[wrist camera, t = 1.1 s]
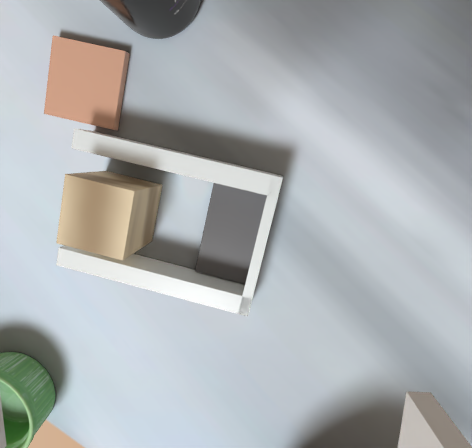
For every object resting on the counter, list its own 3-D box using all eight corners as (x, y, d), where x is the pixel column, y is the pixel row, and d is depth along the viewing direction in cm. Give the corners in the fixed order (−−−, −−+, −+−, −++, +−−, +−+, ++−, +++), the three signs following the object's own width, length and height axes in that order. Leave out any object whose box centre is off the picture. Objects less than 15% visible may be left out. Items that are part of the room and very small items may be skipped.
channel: (282, 175, 29) (282, 177, 26) (251, 301, 31) (247, 316, 28) (94, 131, 30) (74, 128, 27) (76, 255, 32) (56, 265, 29)
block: (162, 184, 30) (134, 191, 24) (152, 241, 31) (122, 260, 26) (106, 171, 31) (65, 174, 25) (97, 227, 32) (56, 243, 26)
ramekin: (17, 442, 37) (-18, 479, 33) (-40, 373, 36) (-83, 402, 32) (80, 401, 35) (52, 435, 31) (22, 328, 35) (-15, 353, 30)
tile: (129, 53, 29) (125, 51, 28) (117, 130, 30) (113, 129, 29) (59, 38, 29) (52, 35, 28) (50, 114, 30) (44, 113, 30)
